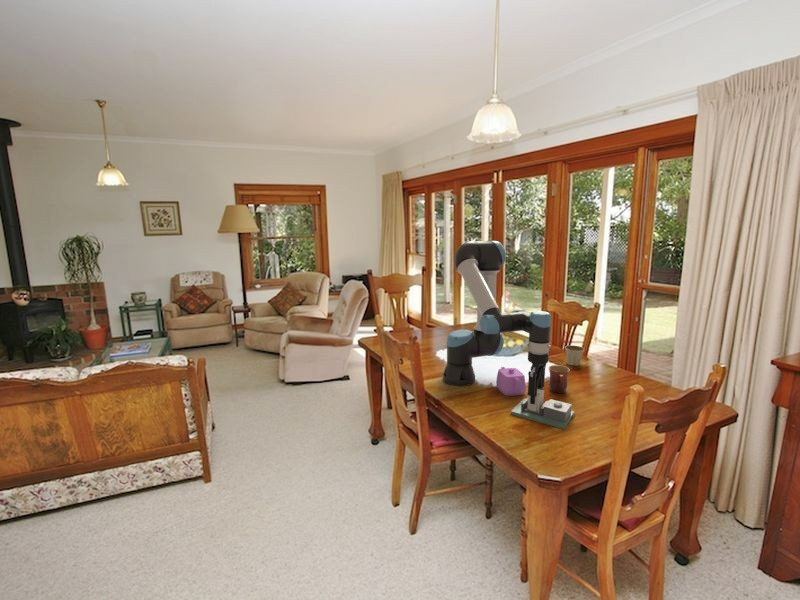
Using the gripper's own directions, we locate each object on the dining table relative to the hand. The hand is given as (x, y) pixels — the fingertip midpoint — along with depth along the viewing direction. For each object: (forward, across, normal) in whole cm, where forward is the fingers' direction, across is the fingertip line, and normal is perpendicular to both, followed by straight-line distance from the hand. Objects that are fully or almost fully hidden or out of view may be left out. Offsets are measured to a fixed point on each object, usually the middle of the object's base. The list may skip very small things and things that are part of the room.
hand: (535, 408), depth 162 cm
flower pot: (+2, +65, +2) cm, 65 cm away
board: (+2, 0, -3) cm, 3 cm away
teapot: (+2, +14, +16) cm, 22 cm away
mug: (+2, +24, -2) cm, 25 cm away
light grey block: (0, 0, 0) cm, 0 cm away
